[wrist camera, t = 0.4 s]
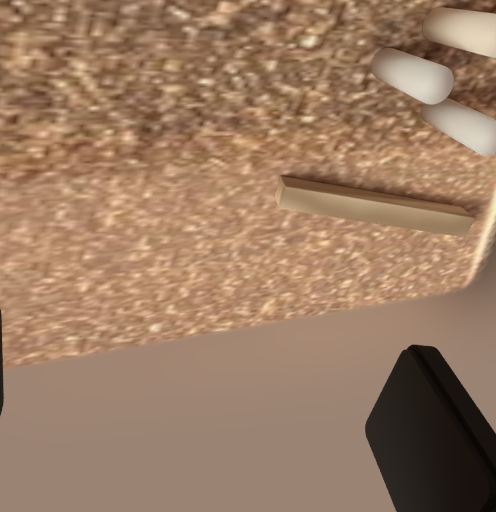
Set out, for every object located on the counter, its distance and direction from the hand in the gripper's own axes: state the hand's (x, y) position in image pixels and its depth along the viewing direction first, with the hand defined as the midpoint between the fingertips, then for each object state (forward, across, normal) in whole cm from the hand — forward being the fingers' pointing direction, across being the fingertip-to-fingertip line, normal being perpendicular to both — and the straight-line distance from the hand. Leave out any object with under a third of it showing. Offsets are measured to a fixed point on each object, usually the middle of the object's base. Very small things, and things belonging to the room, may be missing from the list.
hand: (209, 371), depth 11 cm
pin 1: (+30, -15, -5) cm, 34 cm away
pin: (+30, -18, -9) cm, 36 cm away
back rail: (+30, -18, +6) cm, 36 cm away
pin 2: (+30, -20, -3) cm, 36 cm away
